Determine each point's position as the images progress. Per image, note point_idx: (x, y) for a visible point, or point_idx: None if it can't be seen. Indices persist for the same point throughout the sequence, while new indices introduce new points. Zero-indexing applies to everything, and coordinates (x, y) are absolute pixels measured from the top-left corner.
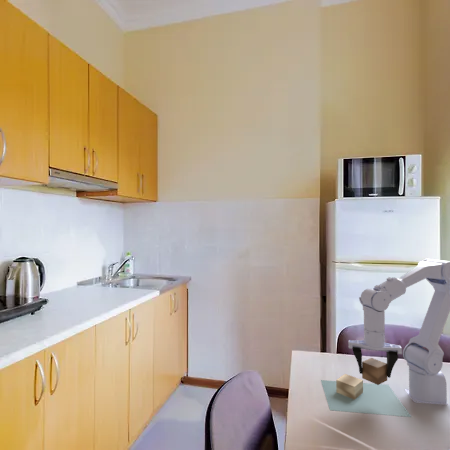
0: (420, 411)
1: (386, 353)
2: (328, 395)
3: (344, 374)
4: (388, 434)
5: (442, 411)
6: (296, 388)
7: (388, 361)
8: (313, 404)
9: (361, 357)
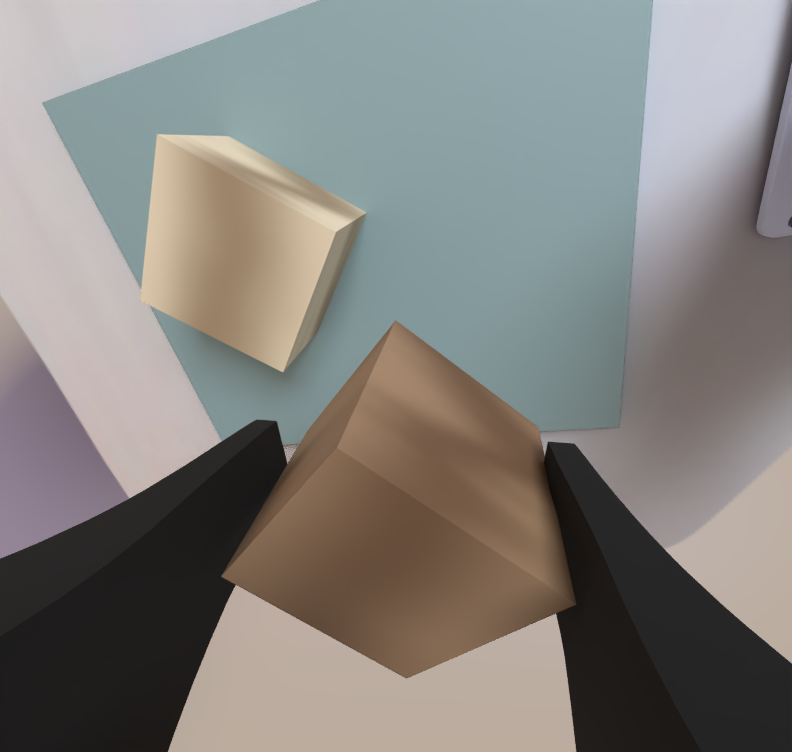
0: (732, 328)
1: (688, 721)
2: (176, 326)
3: (158, 158)
4: None
5: None
6: (2, 271)
7: (587, 724)
8: (149, 400)
9: (175, 718)
